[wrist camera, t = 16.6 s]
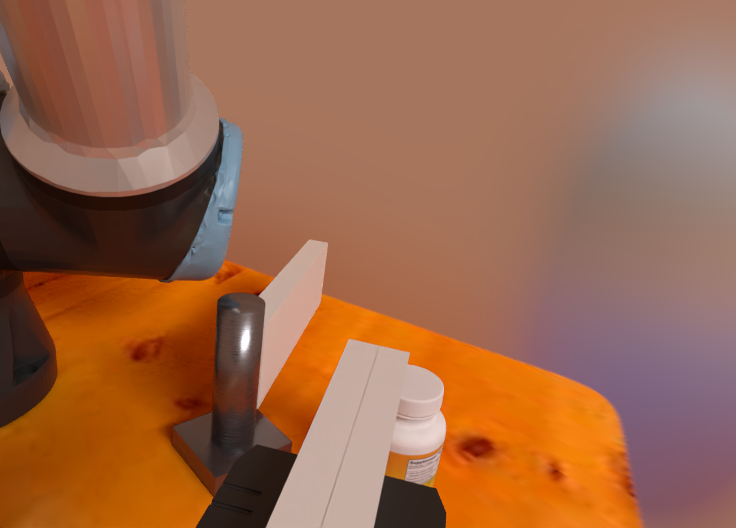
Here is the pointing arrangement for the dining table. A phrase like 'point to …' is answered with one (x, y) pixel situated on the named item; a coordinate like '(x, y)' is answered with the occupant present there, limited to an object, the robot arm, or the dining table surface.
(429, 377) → the supplement bottle
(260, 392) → the swing arm
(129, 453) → the dining table surface
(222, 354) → the post
